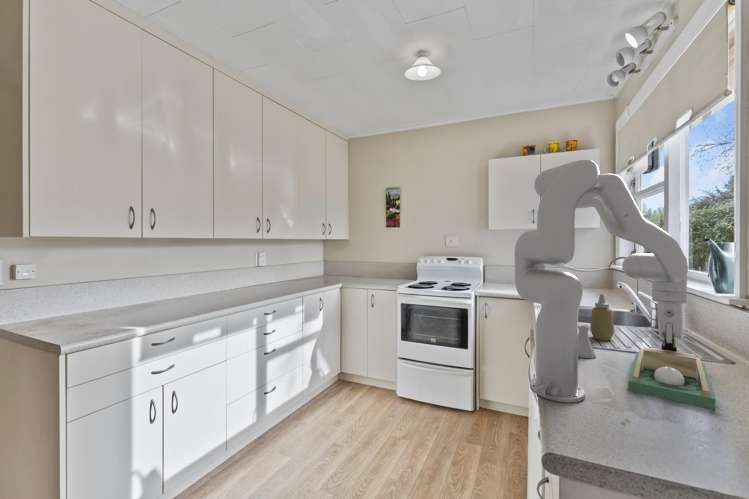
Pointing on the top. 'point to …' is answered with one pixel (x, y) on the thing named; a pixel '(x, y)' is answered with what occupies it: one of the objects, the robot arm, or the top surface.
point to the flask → (584, 343)
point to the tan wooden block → (670, 361)
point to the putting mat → (691, 393)
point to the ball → (669, 376)
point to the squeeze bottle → (602, 320)
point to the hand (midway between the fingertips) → (669, 359)
